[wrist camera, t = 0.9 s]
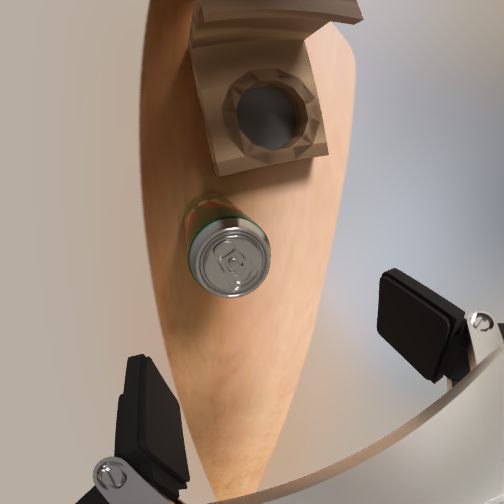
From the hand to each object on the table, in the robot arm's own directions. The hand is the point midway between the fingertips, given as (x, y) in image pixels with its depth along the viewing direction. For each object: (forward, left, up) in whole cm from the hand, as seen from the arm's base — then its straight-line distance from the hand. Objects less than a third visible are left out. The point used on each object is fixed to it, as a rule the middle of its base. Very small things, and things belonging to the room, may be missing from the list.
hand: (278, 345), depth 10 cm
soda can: (-1, 0, -19) cm, 19 cm away
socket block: (-11, +7, -19) cm, 23 cm away
